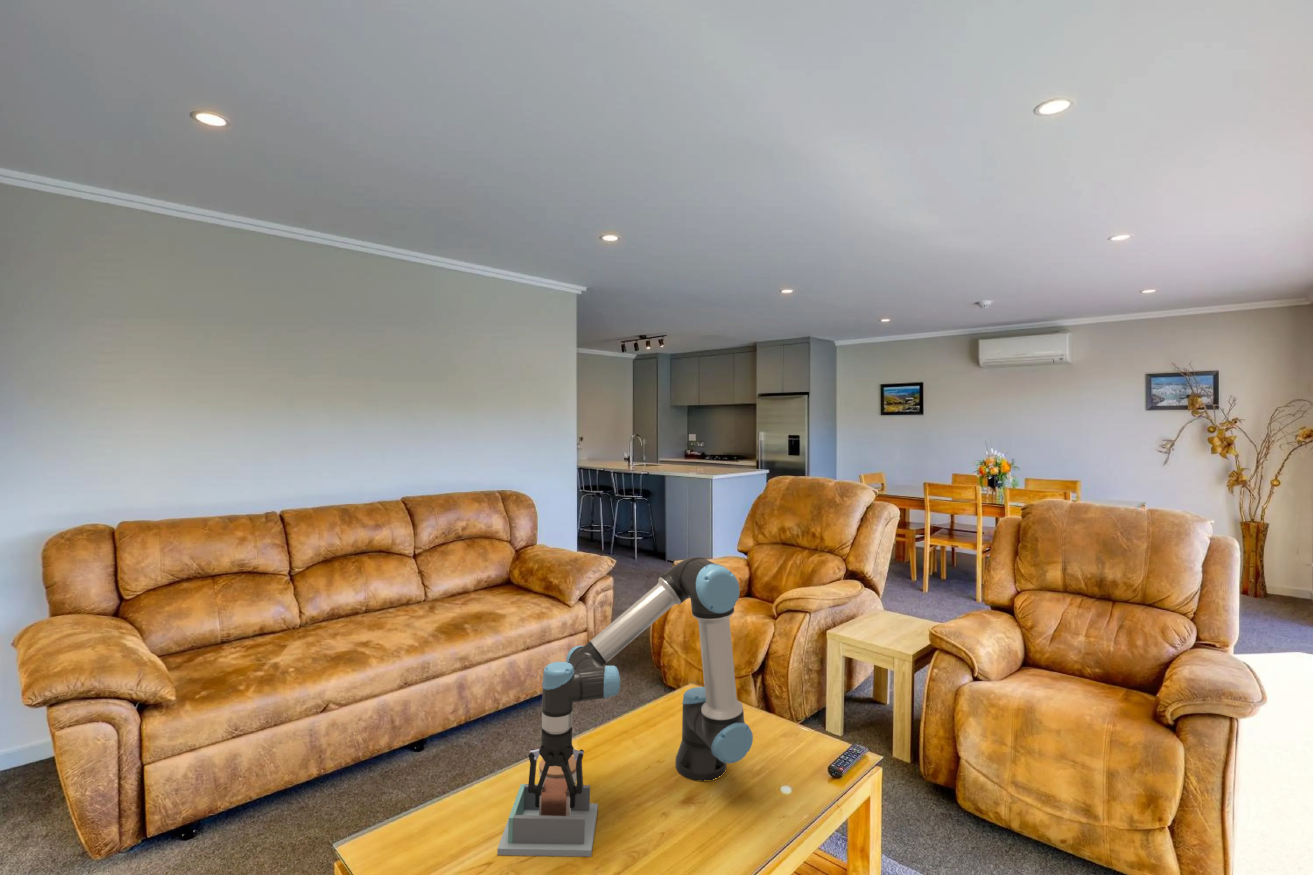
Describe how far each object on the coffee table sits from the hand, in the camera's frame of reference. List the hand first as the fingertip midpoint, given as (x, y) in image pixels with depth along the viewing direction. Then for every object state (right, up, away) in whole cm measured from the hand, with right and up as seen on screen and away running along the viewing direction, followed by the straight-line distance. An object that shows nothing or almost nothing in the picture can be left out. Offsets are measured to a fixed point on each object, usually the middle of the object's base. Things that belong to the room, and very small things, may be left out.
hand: (555, 819), depth 153 cm
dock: (-1, -3, 0) cm, 3 cm away
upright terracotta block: (0, 0, 0) cm, 0 cm away
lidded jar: (-2, -3, +17) cm, 17 cm away
